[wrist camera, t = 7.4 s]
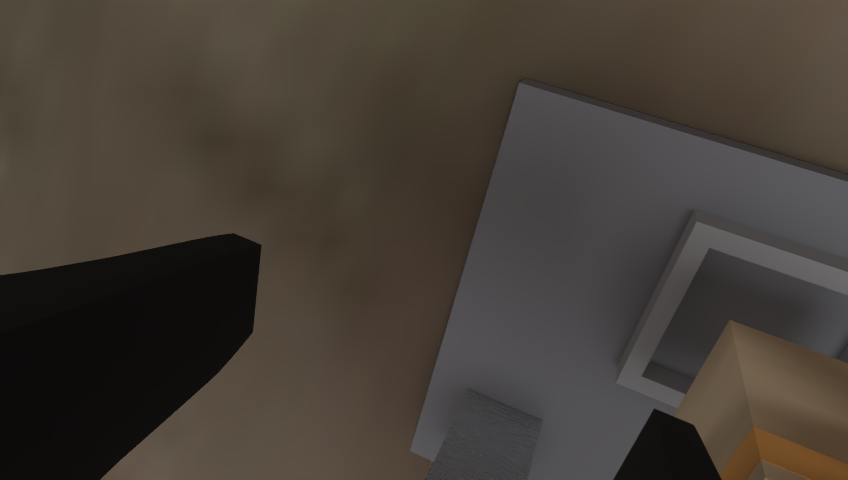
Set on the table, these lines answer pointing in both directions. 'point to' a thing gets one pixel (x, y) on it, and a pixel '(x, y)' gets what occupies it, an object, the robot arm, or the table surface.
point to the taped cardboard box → (770, 409)
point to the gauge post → (487, 442)
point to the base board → (629, 273)
